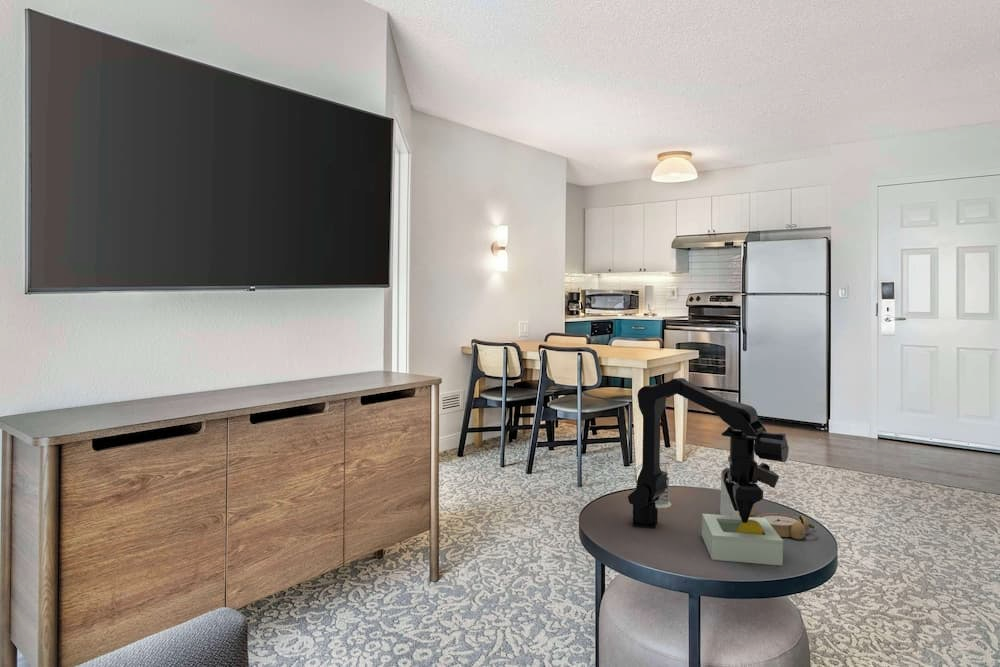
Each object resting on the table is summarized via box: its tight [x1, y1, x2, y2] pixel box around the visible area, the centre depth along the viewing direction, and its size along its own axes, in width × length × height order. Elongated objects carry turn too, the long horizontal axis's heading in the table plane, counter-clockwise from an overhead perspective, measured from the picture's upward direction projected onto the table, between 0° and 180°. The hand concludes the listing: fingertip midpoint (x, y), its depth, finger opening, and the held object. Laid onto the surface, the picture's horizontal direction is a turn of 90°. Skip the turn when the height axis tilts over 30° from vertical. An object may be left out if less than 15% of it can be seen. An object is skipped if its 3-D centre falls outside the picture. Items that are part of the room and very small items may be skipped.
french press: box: [634, 455, 672, 509], centre depth 185 cm, size 10×12×25 cm
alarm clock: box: [756, 512, 817, 540], centre depth 161 cm, size 11×5×15 cm
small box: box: [719, 471, 755, 517], centre depth 175 cm, size 8×6×13 cm
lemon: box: [736, 520, 763, 535], centre depth 146 cm, size 6×6×8 cm
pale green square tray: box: [701, 513, 784, 567], centre depth 148 cm, size 16×16×6 cm
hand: (740, 516), depth 148 cm, fingers open, 9 cm apart
